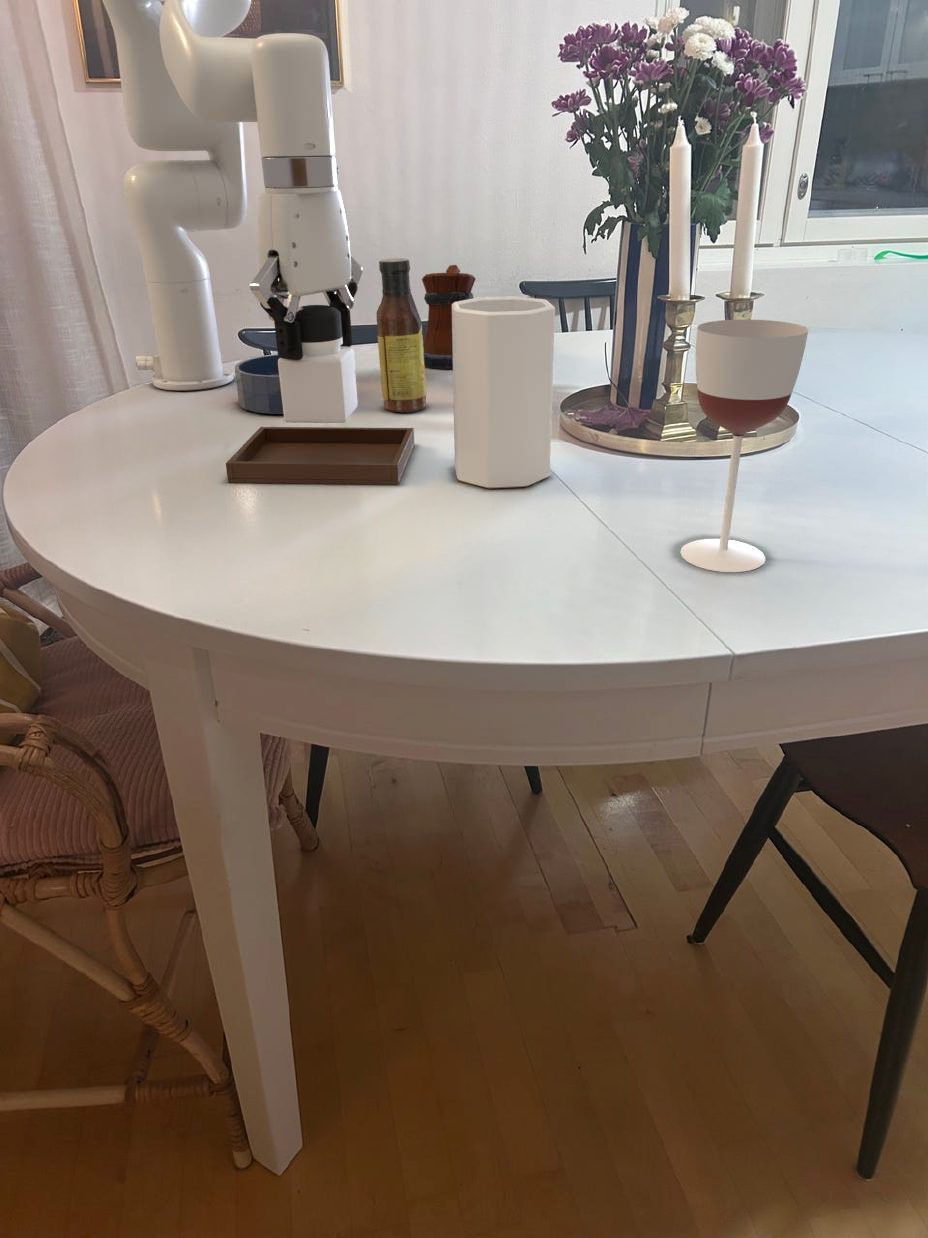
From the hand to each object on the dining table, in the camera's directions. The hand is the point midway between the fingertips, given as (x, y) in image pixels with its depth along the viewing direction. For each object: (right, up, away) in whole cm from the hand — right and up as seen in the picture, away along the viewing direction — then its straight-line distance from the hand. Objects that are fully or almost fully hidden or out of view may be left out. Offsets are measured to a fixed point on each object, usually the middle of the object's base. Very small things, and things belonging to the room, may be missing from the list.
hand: (316, 350), depth 101 cm
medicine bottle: (0, -7, +3) cm, 7 cm away
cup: (+21, -14, +2) cm, 25 cm away
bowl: (-9, +2, +32) cm, 33 cm away
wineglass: (+40, -24, -19) cm, 51 cm away
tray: (0, -12, +6) cm, 13 cm away
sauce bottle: (+8, 0, +28) cm, 29 cm away
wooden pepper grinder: (+15, +15, +56) cm, 60 cm away
